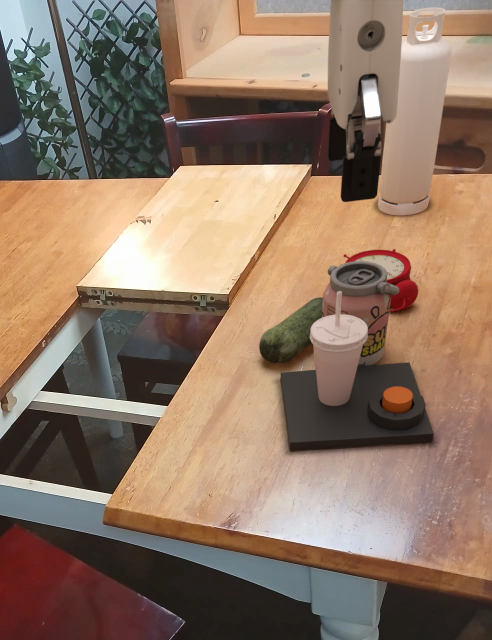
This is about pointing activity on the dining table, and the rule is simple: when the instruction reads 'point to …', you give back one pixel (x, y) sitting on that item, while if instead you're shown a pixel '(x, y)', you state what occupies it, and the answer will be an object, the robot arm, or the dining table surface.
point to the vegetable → (291, 334)
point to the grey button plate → (353, 411)
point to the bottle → (415, 117)
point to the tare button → (397, 399)
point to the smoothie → (337, 354)
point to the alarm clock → (392, 274)
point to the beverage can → (362, 302)
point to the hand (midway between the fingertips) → (350, 177)
